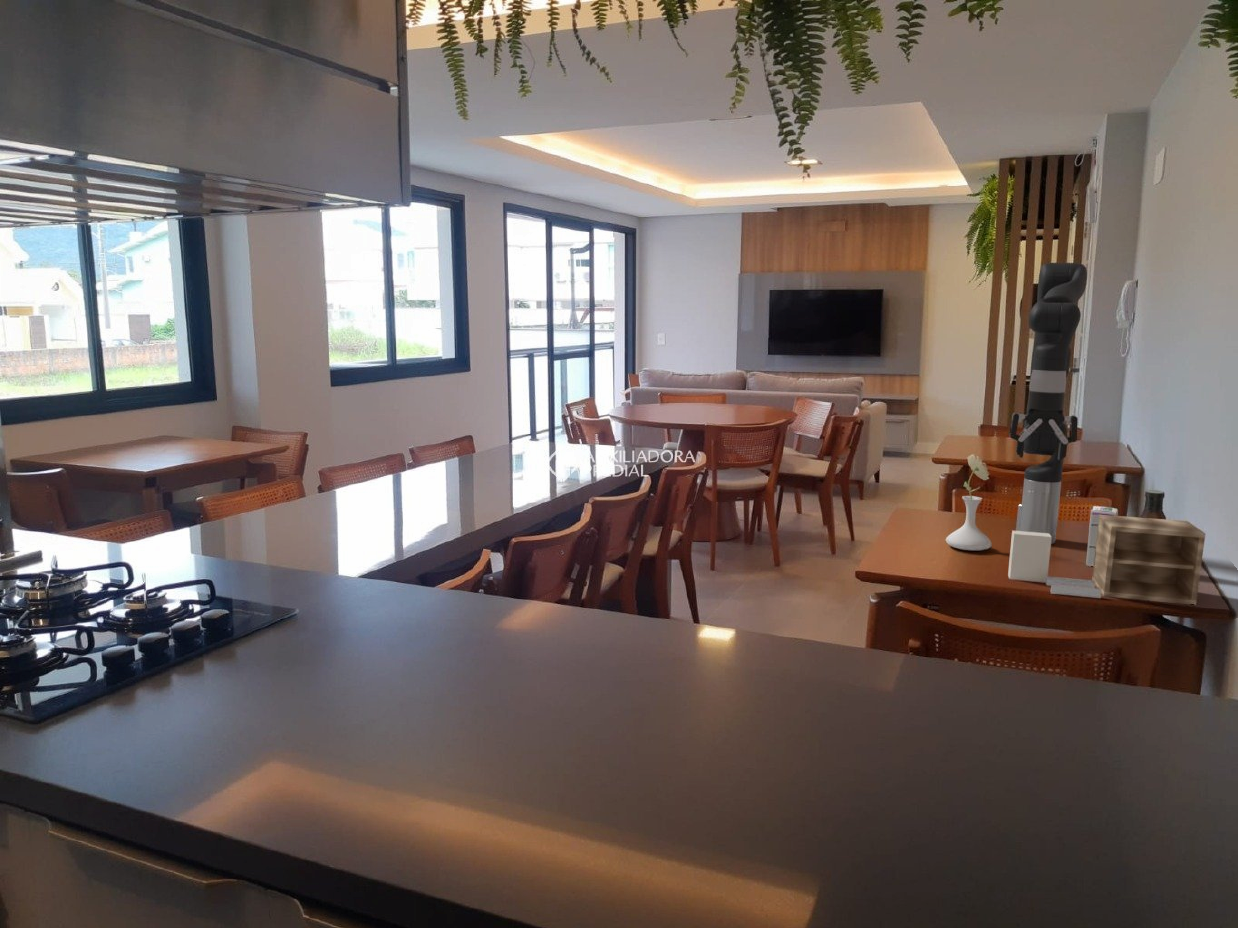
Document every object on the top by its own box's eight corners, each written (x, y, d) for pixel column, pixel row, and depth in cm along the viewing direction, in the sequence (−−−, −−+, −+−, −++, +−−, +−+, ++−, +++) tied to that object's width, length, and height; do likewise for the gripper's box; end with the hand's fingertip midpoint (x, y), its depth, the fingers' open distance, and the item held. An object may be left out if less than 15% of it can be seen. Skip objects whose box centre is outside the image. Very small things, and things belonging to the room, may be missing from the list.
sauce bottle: (1155, 567, 220) (1164, 489, 216) (1167, 574, 214) (1178, 494, 210) (1127, 565, 220) (1136, 488, 217) (1139, 573, 214) (1149, 493, 211)
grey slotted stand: (1051, 593, 197) (1051, 585, 197) (1045, 584, 204) (1046, 576, 204) (1100, 598, 194) (1101, 589, 194) (1093, 589, 201) (1094, 580, 201)
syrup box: (1111, 569, 217) (1118, 512, 214) (1084, 565, 220) (1091, 509, 217) (1113, 564, 222) (1119, 508, 219) (1086, 560, 225) (1092, 505, 222)
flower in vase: (995, 555, 228) (1003, 460, 224) (948, 552, 230) (956, 458, 226) (984, 542, 241) (993, 452, 236) (941, 540, 243) (948, 450, 239)
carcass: (1103, 596, 196) (1111, 526, 193) (1091, 580, 207) (1099, 514, 205) (1195, 605, 191) (1205, 533, 188) (1178, 588, 202) (1187, 521, 199)
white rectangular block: (1009, 579, 208) (1014, 533, 206) (1008, 575, 211) (1012, 530, 209) (1046, 582, 205) (1051, 536, 204) (1044, 578, 209) (1049, 533, 207)
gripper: (1016, 389, 203) (1009, 458, 206) (1084, 392, 199) (1076, 462, 202) (1011, 387, 210) (1005, 454, 213) (1077, 389, 206) (1070, 457, 209)
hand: (1040, 458), depth 208 cm, fingers open, 8 cm apart
